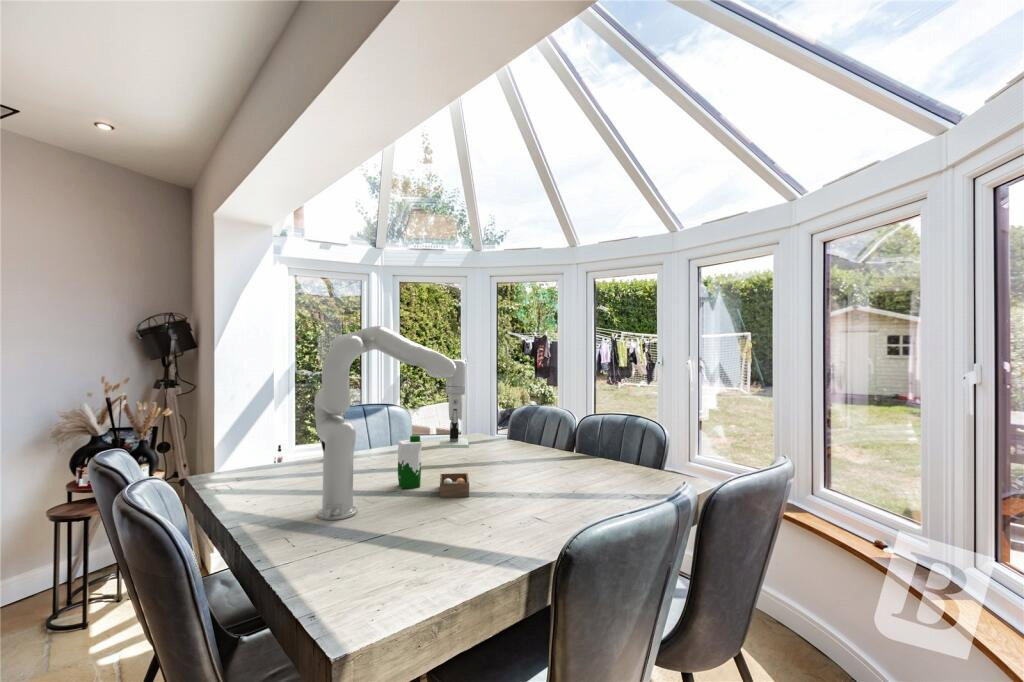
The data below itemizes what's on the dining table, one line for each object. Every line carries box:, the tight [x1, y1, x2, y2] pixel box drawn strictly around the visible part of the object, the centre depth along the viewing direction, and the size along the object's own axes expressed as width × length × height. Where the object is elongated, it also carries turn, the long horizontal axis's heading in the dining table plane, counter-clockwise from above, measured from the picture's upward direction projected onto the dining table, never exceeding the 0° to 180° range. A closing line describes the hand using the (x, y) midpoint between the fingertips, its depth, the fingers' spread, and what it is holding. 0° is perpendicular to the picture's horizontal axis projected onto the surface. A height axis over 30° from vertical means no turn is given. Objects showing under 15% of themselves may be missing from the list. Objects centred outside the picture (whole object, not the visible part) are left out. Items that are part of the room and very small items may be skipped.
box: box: [439, 472, 470, 498], centre depth 184 cm, size 15×11×5 cm
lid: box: [438, 422, 470, 449], centre depth 184 cm, size 15×11×8 cm
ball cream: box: [443, 478, 452, 484], centre depth 187 cm, size 4×4×4 cm
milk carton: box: [397, 434, 423, 490], centre depth 191 cm, size 9×9×20 cm
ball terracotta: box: [456, 478, 465, 483], centre depth 187 cm, size 4×4×4 cm
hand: (454, 437), depth 184 cm, fingers closed on lid, 3 cm apart
